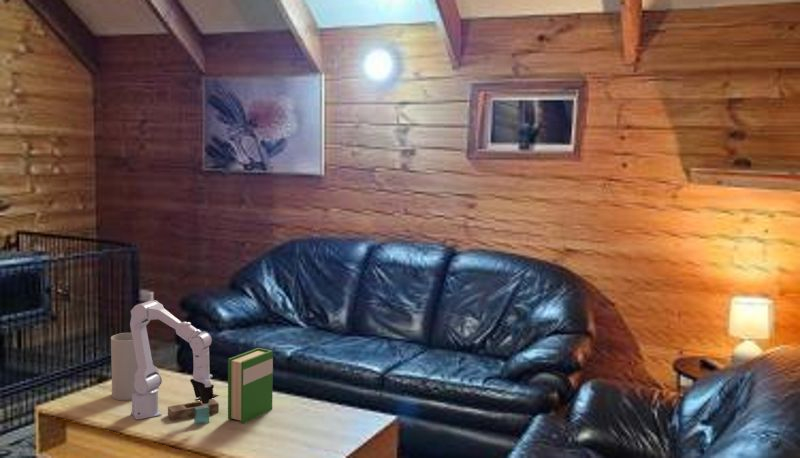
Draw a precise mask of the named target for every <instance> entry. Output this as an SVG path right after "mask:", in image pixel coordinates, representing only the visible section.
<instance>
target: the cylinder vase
mask: <svg viewBox="0 0 800 458" xmlns="http://www.w3.org/2000/svg"><path fill="white" fill-rule="evenodd" d="M110 348H111V349H110V351H111V352H110V353H111V354H110V357H111V361H110V363H111V397H112V398H113V399H114V400H118V401H132V395H133V394H135V393H137V392H136V390H135V388H134V383H135V377H134V376H135V374H136V372H137V370H138V365H137V359H136V354H135V348H134V343H133V338H132V332H122V333H116V334H114V335H111V337H110Z"/></svg>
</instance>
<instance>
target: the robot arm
mask: <svg viewBox="0 0 800 458" xmlns="http://www.w3.org/2000/svg"><path fill="white" fill-rule="evenodd" d="M130 315H131V316H130V317H131V318H130V322H129V326H130V333H132V338H133V343H134V348H135V354H136V359H137V365H138V370H137V372H136V374H135V376H134V377H135V383H134V388H135V390H136V392H137V393H135V394H133V395H132V400H131V412H130V413H131V415H132V416H133V417H134V418H135V420H142V419H147V418H153V417H159V416H162V413H161V412H160V410H159V389H160V388H159V387H160V386H161V385H162V383H163V378H162V375H161V374H160V372H159V368H158V367H156V366H155V365H154V362H153V358H152V351H151V346H150V341H149V336H148V329H147V325H148V324H149V323H150V321H153V320H159V321H161V322H162V323H164V324H165V325H167V326H168V327H171V328H172V329H174V330H175V334H176V335H177V336H178V337H180V338H181V339H183V340H184V341H185V342H187V343H189V347H190V348H191V349H192V355H193V356H192V357H193V360H192V361H193V372H192V377H193V378H191V379H190V378H189V381H190V383H191V385H192V387H193V388H192V389H193V391H194V395H195V398H196V399H197V398H200V397H201V400H202V404H207V403H209V399H210V394H211V392H212V390H213V391H214V387H215V385H214V384H212V382H211V378H213V374H211V373H210V346H211V344H212V342H213V340H212V339H213V337H212V336H211V334H210V333H209V332H208V331H202V330H200V329H198V328H196V327H195V326H194V325H192V322H190V321H188V322H187V321H181V320H180V319H178V318H177V317H176V316H174V315H173V314H172V313H171V312H169V310H167V309H166V308H164V305H163V304H162V303H160V302H159V301H158V300H157V299H156V300H155V299H150V300H148V301H145V302H143V303H138V304H136V305H134V306H133V307H132V309H131V310H130Z"/></svg>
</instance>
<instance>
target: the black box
mask: <svg viewBox="0 0 800 458" xmlns="http://www.w3.org/2000/svg"><path fill="white" fill-rule="evenodd" d="M219 396H220V395H219V394H215V393H214V389H213V390H212V392H211V394H210V399H212V398H213V399H216V398H217V397H219ZM196 400H200V401H202V400H201V397H199V398H198V399H197V398H196V399H194V401H196Z"/></svg>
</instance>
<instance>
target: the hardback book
mask: <svg viewBox="0 0 800 458" xmlns="http://www.w3.org/2000/svg"><path fill="white" fill-rule="evenodd" d="M273 355H274V351H273V350H271V349H266V348H260V347H257V348H254V349H251V350H248V351H246V352H243V353H240V354H237V355H235V356H232V357H229V358H228V359H227V420H228V421H231V420H237V421H240V424H246V423H248V422H249V421H252V420H253V419H256V418H259V417H260V416H262V415H263V414H265V413H268V412H270V411H272V410H273V387H274V386H273V383H274V380H273V378H274V377H273V375H274V366H273V365H274V361H273V360H274V356H273Z"/></svg>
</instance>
